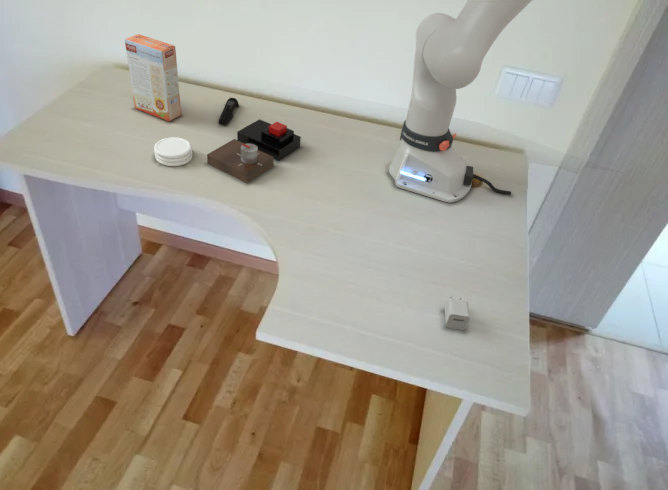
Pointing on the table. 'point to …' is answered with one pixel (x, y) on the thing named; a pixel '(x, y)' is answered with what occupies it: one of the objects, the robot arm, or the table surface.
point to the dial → (249, 153)
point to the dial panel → (238, 162)
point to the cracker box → (154, 76)
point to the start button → (277, 129)
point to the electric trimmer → (228, 111)
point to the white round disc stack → (173, 151)
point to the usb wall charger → (457, 314)
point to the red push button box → (269, 139)
